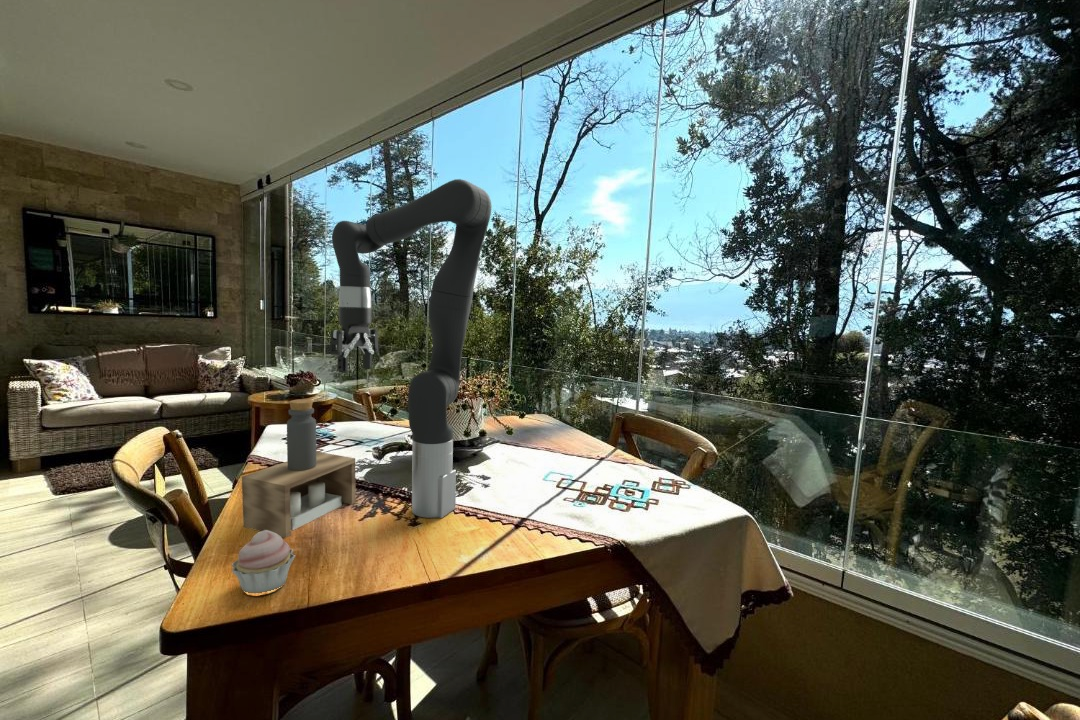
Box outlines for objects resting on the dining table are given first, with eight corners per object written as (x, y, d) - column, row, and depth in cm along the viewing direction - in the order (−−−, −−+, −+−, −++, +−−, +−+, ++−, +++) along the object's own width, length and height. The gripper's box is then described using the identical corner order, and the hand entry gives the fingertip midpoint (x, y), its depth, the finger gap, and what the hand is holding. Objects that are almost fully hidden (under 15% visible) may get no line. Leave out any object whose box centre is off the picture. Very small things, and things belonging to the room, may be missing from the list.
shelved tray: (341, 505, 115) (341, 482, 114) (292, 530, 102) (292, 503, 101) (315, 500, 118) (315, 477, 117) (264, 523, 104) (263, 497, 104)
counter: (355, 502, 117) (355, 458, 116) (286, 537, 98) (284, 485, 97) (317, 494, 121) (316, 451, 120) (243, 526, 103) (241, 476, 101)
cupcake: (269, 607, 76) (268, 546, 75) (218, 599, 78) (215, 539, 77) (308, 575, 85) (307, 521, 84) (261, 568, 87) (259, 515, 86)
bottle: (308, 471, 106) (307, 404, 104) (282, 470, 106) (280, 402, 104) (321, 463, 112) (320, 399, 110) (296, 462, 112) (295, 398, 110)
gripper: (346, 305, 111) (347, 375, 113) (386, 306, 125) (386, 369, 126) (321, 304, 114) (322, 372, 116) (363, 305, 127) (363, 366, 129)
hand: (355, 370), depth 121 cm, fingers open, 8 cm apart
